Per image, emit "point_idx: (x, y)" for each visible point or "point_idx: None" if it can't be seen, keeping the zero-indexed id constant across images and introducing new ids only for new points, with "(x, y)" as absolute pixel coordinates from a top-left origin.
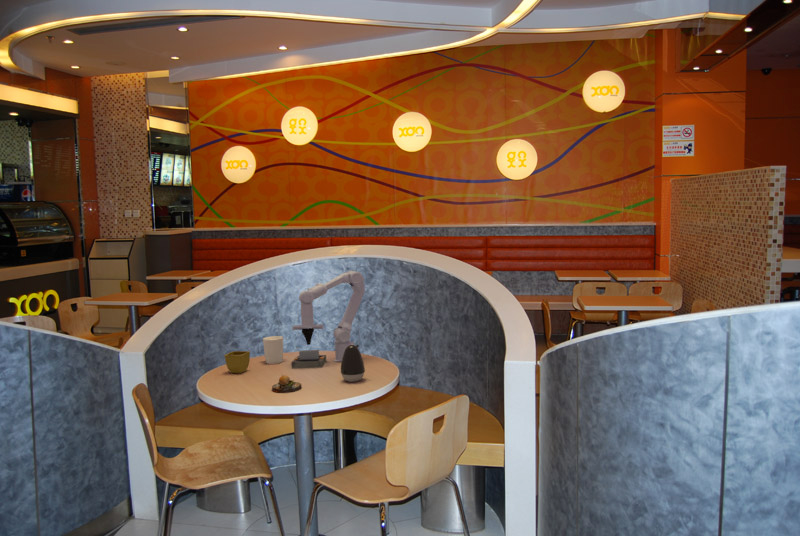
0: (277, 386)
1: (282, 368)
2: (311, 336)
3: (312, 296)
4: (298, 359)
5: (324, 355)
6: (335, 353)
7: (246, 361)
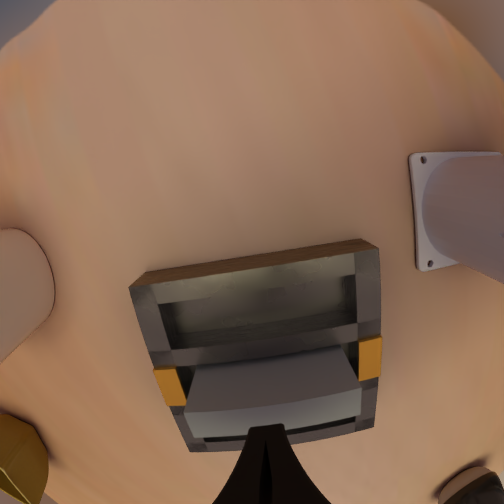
0: None
1: (143, 420)
2: (309, 488)
3: None
4: None
5: (369, 269)
6: (450, 240)
7: (30, 465)
